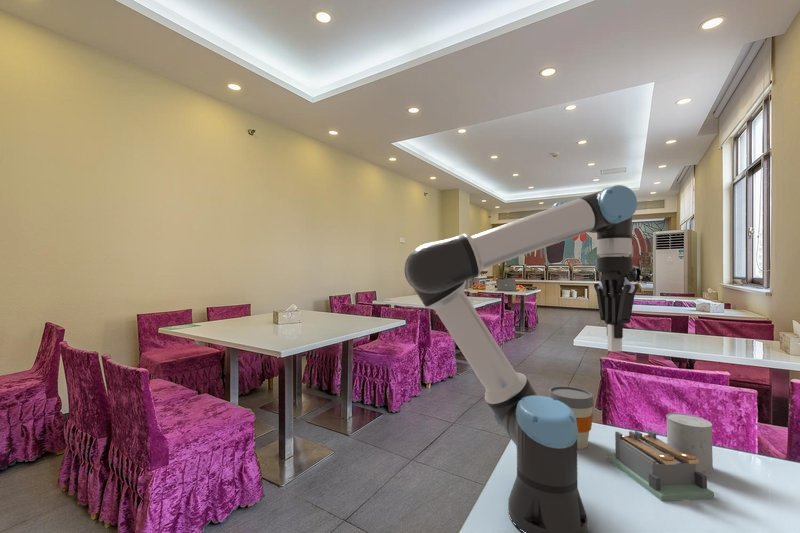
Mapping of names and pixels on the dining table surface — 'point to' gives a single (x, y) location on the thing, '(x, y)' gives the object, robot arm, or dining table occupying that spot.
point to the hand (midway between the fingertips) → (614, 350)
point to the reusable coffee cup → (577, 409)
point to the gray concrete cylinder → (692, 438)
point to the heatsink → (659, 471)
